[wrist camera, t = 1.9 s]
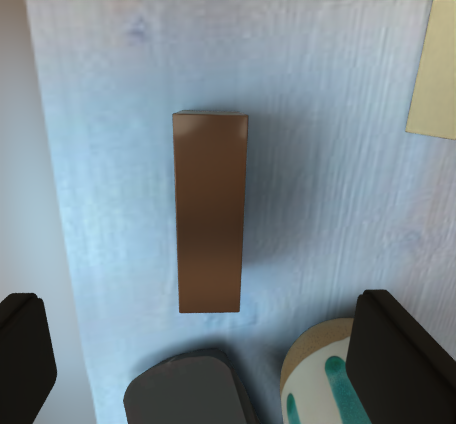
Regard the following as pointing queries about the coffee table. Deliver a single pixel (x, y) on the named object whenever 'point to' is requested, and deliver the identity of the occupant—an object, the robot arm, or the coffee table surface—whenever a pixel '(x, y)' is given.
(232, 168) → the bar walnut
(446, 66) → the bar cream
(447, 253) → the coffee table surface
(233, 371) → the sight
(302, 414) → the vase
